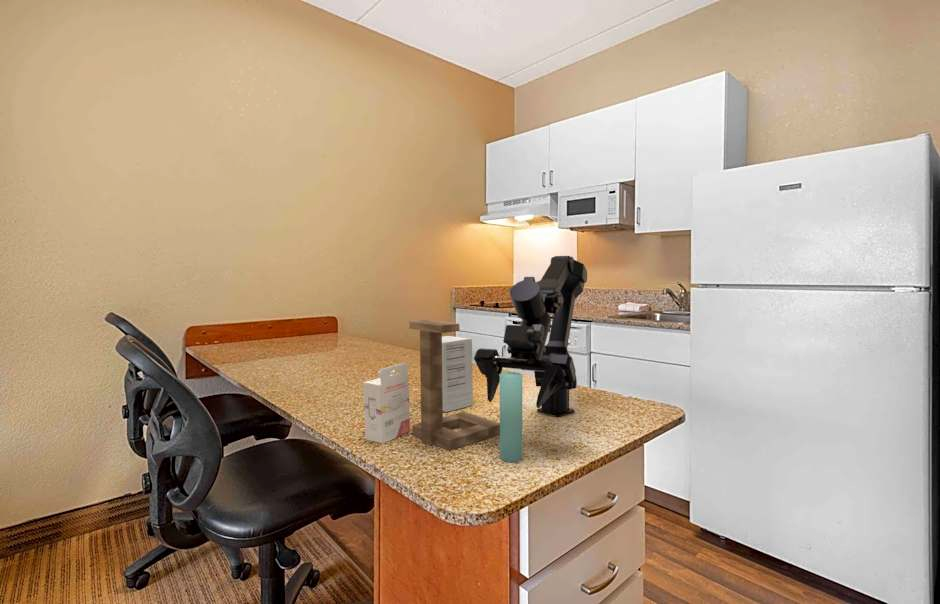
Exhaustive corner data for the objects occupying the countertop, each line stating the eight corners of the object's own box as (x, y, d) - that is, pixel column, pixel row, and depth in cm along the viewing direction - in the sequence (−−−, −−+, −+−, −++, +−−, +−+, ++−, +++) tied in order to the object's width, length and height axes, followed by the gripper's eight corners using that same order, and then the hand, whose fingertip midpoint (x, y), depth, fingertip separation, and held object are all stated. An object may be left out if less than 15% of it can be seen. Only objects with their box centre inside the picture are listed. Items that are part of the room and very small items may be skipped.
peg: (510, 451, 88) (510, 371, 87) (527, 458, 85) (527, 374, 84) (495, 457, 85) (494, 374, 84) (511, 464, 82) (511, 378, 81)
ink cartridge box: (392, 427, 102) (391, 359, 101) (410, 431, 99) (409, 362, 98) (363, 440, 95) (362, 366, 94) (382, 444, 92) (380, 369, 91)
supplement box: (474, 405, 119) (473, 338, 118) (445, 413, 112) (445, 342, 111) (449, 398, 126) (448, 334, 125) (421, 405, 119) (420, 338, 118)
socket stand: (464, 420, 107) (463, 316, 105) (502, 433, 98) (502, 320, 96) (408, 435, 97) (406, 321, 95) (445, 452, 88) (444, 325, 86)
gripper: (477, 307, 93) (451, 373, 84) (572, 310, 85) (555, 383, 76) (493, 342, 101) (471, 406, 91) (581, 348, 93) (567, 419, 83)
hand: (512, 403), depth 85 cm, fingers open, 9 cm apart
